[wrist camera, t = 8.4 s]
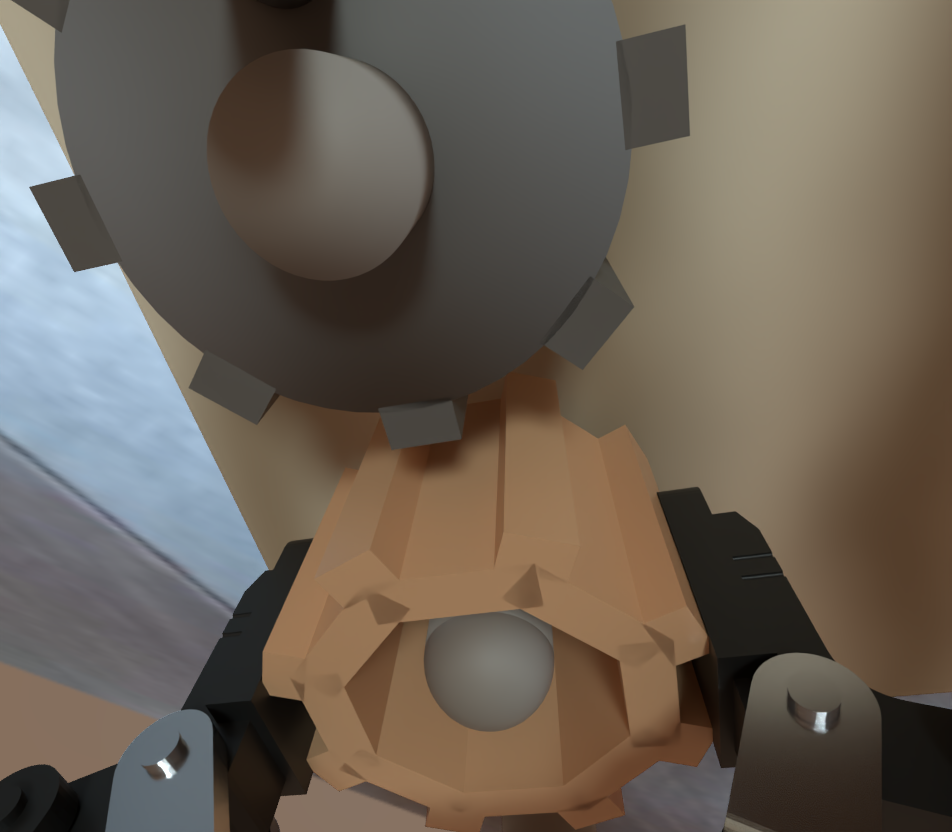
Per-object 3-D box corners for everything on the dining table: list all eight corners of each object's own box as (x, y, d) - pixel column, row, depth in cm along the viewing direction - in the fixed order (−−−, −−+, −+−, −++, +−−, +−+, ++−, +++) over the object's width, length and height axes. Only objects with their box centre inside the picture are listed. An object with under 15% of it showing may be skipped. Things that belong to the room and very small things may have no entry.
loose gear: (637, 348, 10) (712, 504, 6) (660, 605, 13) (723, 821, 9) (304, 406, 11) (192, 572, 7) (393, 633, 14) (347, 842, 10)
